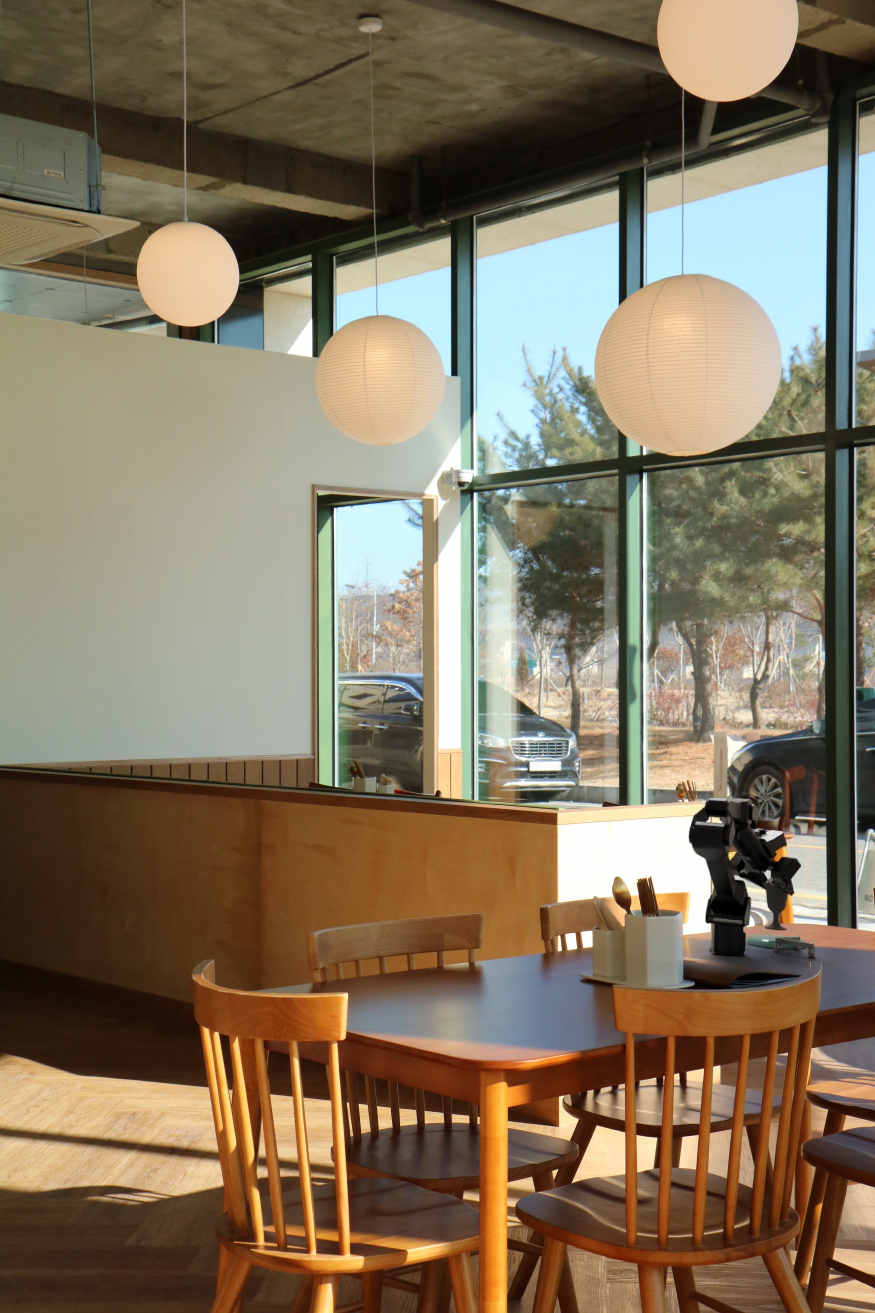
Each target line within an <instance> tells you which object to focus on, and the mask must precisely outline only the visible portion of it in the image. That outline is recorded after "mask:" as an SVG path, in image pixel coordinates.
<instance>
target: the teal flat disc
mask: <svg viewBox="0 0 875 1313" xmlns="http://www.w3.org/2000/svg"><path fill="white" fill-rule="evenodd" d="M781 937H788V936H787V935H786V936H785V935H778V934H777V935H775V934H752V935H746V944H748V945H751V946H754V947H759V948H765V949H766V948H767V949H774V950H775V938H781ZM800 941H802V942H806V940H804V939H801V938H800ZM801 949H802V950H803V949H805V947H800V950H801ZM781 950H794V946H793V945H786V944H781Z"/></svg>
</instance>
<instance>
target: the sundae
mask: <svg viewBox="0 0 875 1313" xmlns="http://www.w3.org/2000/svg"><path fill="white" fill-rule="evenodd" d="M772 881H773V879H772V878H771V877H769V879H768V880H767V882H764V883H762V885H763V886H765V889H766V890H765V889H764V890H765V894H766V895H765V896H766V905H767V908H768V910H769V911H770V912H771V913H772V914H773V917H772V922H771V924H769V925H766V926H764V929H766V930H771V931H788V929H787V928H786V927H784V926H782V925H781V923H780V920H779V919H780V914H781V913H782V912H783V911H784V910H786V908H787V901H788V896H789V894H787V893H786V892H784V891H783V890H781V889H780V888H778V887H777V886H775V885H774V884H772V883H771V882H772Z"/></svg>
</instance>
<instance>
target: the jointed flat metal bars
mask: <svg viewBox="0 0 875 1313" xmlns="http://www.w3.org/2000/svg"><path fill="white" fill-rule="evenodd" d="M800 939H801V936H800V935H799V936H798V935H797V936H795V935H793V936H787V937H781V938H775V949H774V952H775V953H779V954H780V953H782V949H781V944H786V945H793V946H794V949H793V951H796V952H800V951H801V949H800V947H805V948H806V949H807V958H810V959H815V958H816V954H815V953H816V948H815V942H808V941H805V942H802V941H800ZM805 948H804V949H805Z"/></svg>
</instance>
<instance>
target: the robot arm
mask: <svg viewBox="0 0 875 1313" xmlns="http://www.w3.org/2000/svg"><path fill="white" fill-rule="evenodd" d="M760 810H761V803H760V802H759V801H758V800H757V798H755V797H752V796H751V793H750V792H741V795H740V797H738V798H737V797H736V798H735V797H723V798H718V797H711V798H706V801H705V804H704V806H703V807H702V808H701V809H700V810H699V811H697V812H696V813H695V814H694V815H693V816H692V819H691V823H690V826H689V830H688V842H689V844H691V847H692V850H693V851H694V853H695V854H696V855H698V856H699V857H702V858H703V859H704V860H705V863H706V866H707V870H708V873H709V876H710V879H711V883H712V885H713V889H712V892H711V893H710V896H709V898H708V899H707V904H706V908H705V916H704V919H705V920H704V922H705V923H706V924H708V925H711V939H710V940H711V946H710V947H709V950H710V952H712V953H713V954H714V955H722V956H723V955H724V956H746V955H745V953H746V947H747V946H746V944H747V933H746V932H745V931H744V930H745V929H744V928H747V927H748V926H750V919H751V910H752V909H751V908H752V898H751V896H749V893H748V888H747V886H746V882H745V881H747V882H749V883H751V884H753V885H755V886H757V887H759V888H761V889H763V890H765V891H766V889H765V886H763V885H762V883H764V882H767V880H769V879H768V877H767V875H766V874H765V873H767V871H769V872H770V878H772V879H773V881H772V882H771V883H772V884H774V885H775V886H777V887H778V888H780V889H781V890H783V891H784V892H786V893H787V894H788V896H791V897H792V896H793V895H795V889H794V885H793V881H792V879H793V878H794V876H795V875H796V874H797V873H798V871H799V870H800V869H801V867H802V864H801V862H800V861H799V859H798V858H796V857H791V856H790V857H789V856H781V857H780V859H778V861H777V860H773V859H775V858H776V856H777V855H778V853H777V851H779V850H780V849H782V848H785V847H787V846H788V843H787V840H786V837H785V832H784V831H781V830H773V829H771V830H765V829H764V828H756V826H757V823H758V818H759V814H760ZM710 818H715V819H716V818H719V821H720V822H710V821H709V819H710ZM755 828H756V829H755ZM754 829H755V830H754ZM731 847H733V849H734V851H736V852H735V853H734V855H733V856H732V857H731V859H730V857H729V854H730V849H731ZM735 876H736V877H739V878H740V879H736V878H735Z"/></svg>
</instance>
